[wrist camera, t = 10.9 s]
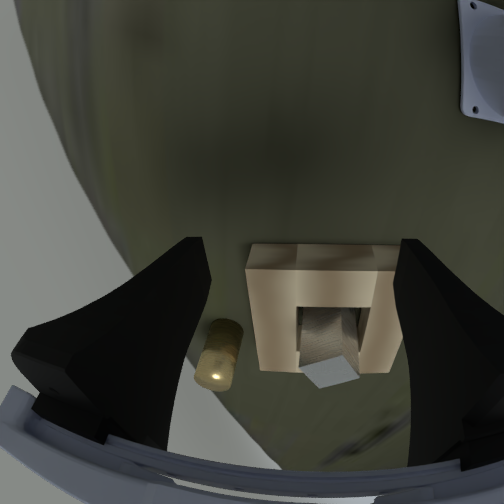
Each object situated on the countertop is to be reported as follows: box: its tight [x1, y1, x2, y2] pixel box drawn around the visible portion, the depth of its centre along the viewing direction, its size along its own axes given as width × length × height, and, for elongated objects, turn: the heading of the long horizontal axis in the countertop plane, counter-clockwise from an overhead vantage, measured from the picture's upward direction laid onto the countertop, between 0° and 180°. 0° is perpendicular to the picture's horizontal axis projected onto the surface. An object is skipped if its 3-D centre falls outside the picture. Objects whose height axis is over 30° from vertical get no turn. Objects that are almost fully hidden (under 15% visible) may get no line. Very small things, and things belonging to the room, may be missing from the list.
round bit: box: [194, 319, 244, 391], centre depth 27 cm, size 3×3×6 cm
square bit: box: [298, 307, 360, 388], centre depth 23 cm, size 3×3×7 cm
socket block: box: [245, 244, 403, 373], centre depth 24 cm, size 12×12×3 cm
